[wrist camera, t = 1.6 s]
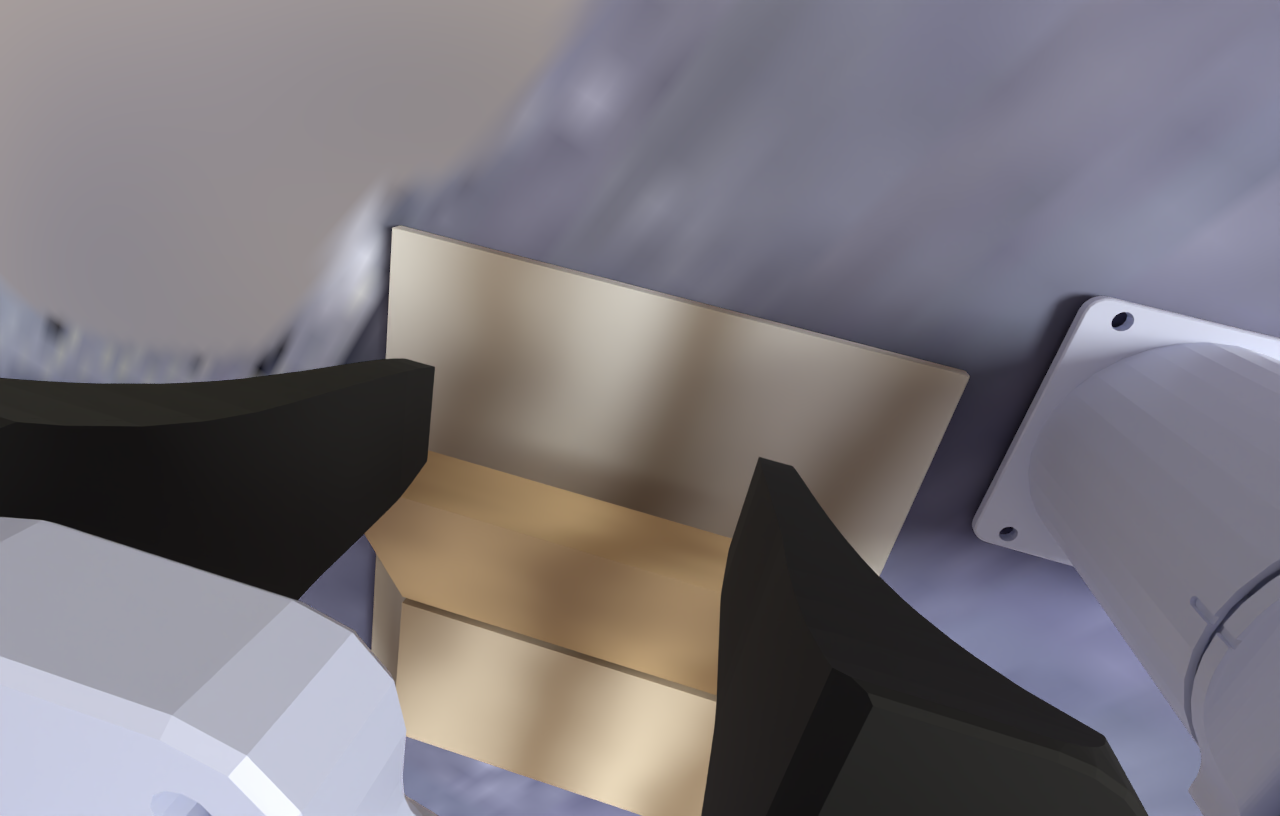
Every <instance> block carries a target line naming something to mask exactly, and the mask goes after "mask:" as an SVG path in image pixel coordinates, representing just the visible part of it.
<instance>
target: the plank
mask: <svg viewBox="0 0 1280 816" xmlns="http://www.w3.org/2000/svg"><path fill="white" fill-rule="evenodd" d="M364 534H365V536H366V537H367V539H368V541H369V542H370V544H371V546H372V547H373V549H374V551H375V552H376V554H377V556H378V557H379V559H380V560H381V562H382V564H383V565H384V567H385V569H386V570H387V572H388V574H389V575H390V577H391V579H392V580H393V582H394V584H395V585H396V587H397V588H398V590H399V592H400V593H401V595H402V597H405V598H408V599H411V600H415V601H418V602H421V603H424V604H427V605H430V606H434V607H437V608H440V609H443V610H446V611H450V612H453V613H456V614H459V615H462V616H465V617H469V618H472V619H475V620H478V621H481V622H485V623H488V624H491V625H494V626H497V627H500V628H504V629H507V630H510V631H513V632H516V633H520V634H523V635H526V636H529V637H532V638H535V639H539V640H542V641H545V642H548V643H551V644H555V645H558V646H561V647H564V648H567V649H570V650H574V651H577V652H580V653H583V654H586V655H590V656H593V657H596V658H599V659H602V660H605V661H609V662H612V663H615V664H618V665H621V666H625V667H628V668H631V669H634V670H637V671H640V672H644V673H647V674H650V675H653V676H656V677H660V678H663V679H666V680H669V681H672V682H676V683H679V684H682V685H685V686H688V687H691V688H695V689H698V690H701V691H704V692H707V693H711V694H714V695H717V674H718V647H719V622H720V600H721V590H722V585H723V579H724V573H725V567H726V562H727V556H728V551H729V547H730V544H731V541H732V538H729V537H725V536H722V535H718V534H715V533H711V532H708V531H704V530H701V529H698V528H694V527H691V526H687V525H684V524H680V523H677V522H673V521H670V520H667V519H663V518H660V517H656V516H653V515H649V514H646V513H643V512H639V511H636V510H632V509H629V508H625V507H622V506H618V505H615V504H612V503H608V502H605V501H601V500H598V499H594V498H591V497H587V496H584V495H581V494H577V493H574V492H570V491H567V490H563V489H560V488H556V487H553V486H550V485H546V484H543V483H539V482H536V481H532V480H529V479H525V478H522V477H519V476H515V475H512V474H508V473H505V472H501V471H498V470H495V469H491V468H488V467H484V466H481V465H477V464H474V463H470V462H467V461H464V460H460V459H457V458H453V457H450V456H446V455H443V454H439V453H436V452H433V451H429V450H428V458H427V462H426V464H425V465H424V466H423V468H422V469H421V471H420V472H419V473H418V475H417V476H416V478H415V479H414V480H413V482H412V483H411V484H410V486H409V487H408V488H407V490H406V491H405V492H404V493H403V495H402V496H401V497H400V499H399V500H398V501H397V502H396V503H395V504H394V505H393V506H392V507H391V508H390V509H389V510H388V511H387V512H386V513H385V514H384V515H383V516H382V517H381V518H380V519H379V520H378V521H377V522H376V523H375V524H374V525H373V526H372V527H371V528H370V529H369V530H367V531H366V532H365V533H364Z"/></svg>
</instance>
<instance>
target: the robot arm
mask: <svg viewBox="0 0 1280 816" xmlns="http://www.w3.org/2000/svg"><path fill="white" fill-rule="evenodd" d="M1121 312H1126V314H1127V318H1126V321H1125V322H1124V323H1123V324H1122V325H1121V326H1118V327H1112V325H1111V323H1112V319H1113V318H1114V317H1115V316H1116V315H1117V314H1119V313H1121ZM434 374H435V367H434V366H430V365H427V364H423V363H420V362H416V361H412V360H409V359H405V358H393V359H381V360H372V361H365V362H358V363H351V364H345V365H338V366H332V367H326V368H319V369H313V370H306V371H300V372H292V373H284V374H276V375H268V376H261V377H253V378H245V379H235V380H223V381H210V382H191V383H170V384H93V383H69V382H48V381H34V380H20V379H7V378H0V816H438V815H437V814H435V813H434V812H432V811H430V810H429V809H427V808H425V807H424V806H422V805H420V804H419V803H417V802H416V801H414V800H412V799H410V798H408V797H406V795H405V793H404V788H403V777H402V776H403V764H404V752H405V741H406V727H405V723H404V719H403V715H402V711H401V707H400V703H399V699H398V694H397V690H396V686H395V682H394V680H393V677H392V675H391V673H390V672H389V671H388V670H387V668H386V667H385V666H384V665H383V664H382V663H381V661H380V660H379V659H378V658H377V657H376V656H375V654H374V653H373V652H372V651H371V650H370V648H369V647H368V646H367V645H366V644H365V643H364V641H363V640H362V639H361V638H360V637H359V636H358V634H357V633H356V632H355V631H354V630H353V629H351V628H349V627H347V626H345V625H343V624H342V623H340V622H338V621H336V620H334V619H332V618H330V617H329V616H327V615H325V614H323V613H321V612H319V611H318V610H316V609H314V608H312V607H310V606H308V605H307V604H305V603H303V602H301V601H298V599H299V598H300V597H301V596H302V595H303V594H304V593H305V592H306V591H307V590H308V589H309V587H310V586H311V585H312V584H313V583H314V582H315V581H316V580H317V579H318V578H319V577H320V576H321V575H322V574H323V573H324V572H325V571H326V570H327V569H328V568H329V567H330V566H331V565H332V564H333V563H334V562H335V561H336V560H338V559H339V558H340V557H341V556H342V555H343V554H344V553H345V552H346V551H347V550H348V549H349V548H350V547H351V546H352V545H353V544H354V543H355V542H356V541H357V540H358V539H359V538H360V537H361V536H362V535H363V534H364V533H365V532H366V531H367V530H369V529H370V528H371V527H372V526H373V525H374V524H375V523H376V522H377V521H378V520H379V519H380V518H381V517H382V516H383V515H384V514H385V513H386V512H387V511H388V510H389V509H390V508H391V507H392V506H393V505H394V504H395V503H396V502H397V501H398V500H399V499H400V497H401V496H402V495H403V493H404V492H405V491H406V490H407V488H408V487H409V486H410V484H411V483H412V482H413V480H414V479H415V478H416V476H417V475H418V473H419V472H420V471H421V469H422V468H423V466H424V465H425V464H426V462H427V458H428V446H429V434H430V422H431V410H432V398H433V386H434ZM1006 527H1013V530H1012V531H1011V532H1010V533H1008V534H1000V531H1001V530H1002V529H1003V528H1006ZM972 528H973V531H974V533H975V535H976V536H977V537H978V538H979V539H980V540H983V541H985V542H988V543H991V544H995V545H999V546H1002V547H1006V548H1009V549H1013V550H1016V551H1020V552H1024V553H1027V554H1031V555H1034V556H1038V557H1041V558H1045V559H1048V560H1052V561H1056V562H1059V563H1063V564H1066V565H1070V566H1073V567H1075V569H1076V570H1077V572H1078V573H1079V575H1080V576H1081V578H1082V579H1083V580H1084V582H1085V583H1086V585H1087V586H1088V588H1089V589H1090V591H1091V592H1092V593H1093V595H1094V596H1095V598H1096V599H1097V601H1098V602H1099V604H1100V605H1101V606H1102V608H1103V609H1104V611H1105V612H1106V614H1107V615H1108V617H1109V618H1110V619H1111V621H1112V622H1113V624H1114V625H1115V627H1116V628H1117V630H1118V631H1119V632H1120V634H1121V635H1122V637H1123V638H1124V640H1125V641H1126V643H1127V644H1128V645H1129V647H1130V648H1131V650H1132V651H1133V653H1134V654H1135V655H1136V657H1137V658H1138V660H1139V661H1140V663H1141V664H1142V666H1143V667H1144V668H1145V670H1146V671H1147V673H1148V674H1149V676H1150V677H1151V679H1152V680H1153V681H1154V683H1155V684H1156V686H1157V687H1158V689H1159V690H1160V692H1161V693H1162V694H1163V696H1164V697H1165V699H1166V700H1167V702H1168V703H1169V705H1170V706H1171V707H1172V709H1173V710H1174V712H1175V713H1176V715H1177V716H1178V718H1179V719H1180V720H1181V722H1182V723H1183V725H1184V726H1185V728H1186V729H1187V731H1188V732H1189V733H1190V735H1191V736H1192V738H1193V739H1194V741H1195V742H1196V744H1197V745H1198V746H1199V748H1200V752H1201V766H1200V769H1199V773H1198V775H1197V777H1196V779H1195V780H1194V782H1193V783H1192V785H1191V786H1190V788H1189V793H1190V795H1191V796H1192V798H1193V800H1194V801H1195V803H1196V804H1197V806H1198V807H1199V809H1200V811H1201V812H1202V814H1203V815H1204V816H1280V338H1277V337H1273V336H1269V335H1265V334H1261V333H1257V332H1253V331H1248V330H1244V329H1240V328H1236V327H1232V326H1228V325H1224V324H1220V323H1215V322H1211V321H1207V320H1203V319H1199V318H1195V317H1191V316H1186V315H1182V314H1178V313H1174V312H1170V311H1166V310H1162V309H1158V308H1153V307H1149V306H1145V305H1141V304H1137V303H1133V302H1129V301H1124V300H1120V299H1116V298H1112V297H1108V296H1097V297H1093V298H1090V299H1089V300H1087V301H1086V302H1084V303H1083V305H1082V306H1081V307H1080V309H1079V310H1078V312H1077V314H1076V316H1075V318H1074V320H1073V322H1072V324H1071V326H1070V328H1069V330H1068V332H1067V334H1066V336H1065V338H1064V340H1063V342H1062V344H1061V346H1060V348H1059V350H1058V352H1057V354H1056V356H1055V358H1054V360H1053V362H1052V364H1051V366H1050V368H1049V370H1048V372H1047V374H1046V376H1045V378H1044V380H1043V382H1042V384H1041V386H1040V388H1039V390H1038V391H1037V393H1036V395H1035V397H1034V399H1033V401H1032V403H1031V405H1030V407H1029V409H1028V411H1027V413H1026V415H1025V417H1024V419H1023V421H1022V423H1021V425H1020V427H1019V429H1018V431H1017V433H1016V435H1015V437H1014V439H1013V441H1012V443H1011V445H1010V447H1009V449H1008V451H1007V453H1006V455H1005V457H1004V459H1003V461H1002V463H1001V465H1000V467H999V469H998V471H997V473H996V475H995V477H994V479H993V481H992V483H991V485H990V487H989V488H988V490H987V492H986V494H985V496H984V498H983V500H982V502H981V504H980V506H979V508H978V510H977V512H976V514H975V516H974V518H973V521H972ZM701 816H1148V814H1147V812H1146V811H1145V809H1144V807H1143V805H1142V803H1141V801H1140V800H1139V798H1138V796H1137V794H1136V792H1135V790H1134V789H1133V787H1132V785H1131V783H1130V781H1129V779H1128V778H1127V776H1126V774H1125V772H1124V770H1123V769H1122V767H1121V765H1120V763H1119V761H1118V759H1117V758H1116V756H1115V754H1114V752H1113V750H1112V749H1111V747H1110V745H1109V743H1108V742H1107V740H1106V738H1105V737H1104V735H1102V734H1100V733H1098V732H1097V731H1095V730H1093V729H1092V728H1090V727H1088V726H1086V725H1085V724H1083V723H1081V722H1079V721H1078V720H1076V719H1074V718H1073V717H1071V716H1069V715H1067V714H1066V713H1064V712H1062V711H1060V710H1059V709H1057V708H1055V707H1054V706H1052V705H1050V704H1048V703H1047V702H1045V701H1043V700H1041V699H1040V698H1038V697H1036V696H1035V695H1033V694H1031V693H1029V692H1028V691H1026V690H1024V689H1023V688H1021V687H1020V686H1018V685H1016V684H1015V683H1013V682H1012V681H1010V680H1009V679H1007V678H1006V677H1004V676H1003V675H1001V674H1000V673H998V672H997V671H996V670H994V669H993V668H991V667H990V666H988V665H987V664H985V663H984V662H982V661H981V660H979V659H978V658H976V657H975V656H973V655H972V654H971V653H969V652H968V651H967V650H965V649H964V648H962V647H961V646H960V645H958V644H957V643H956V642H954V641H953V640H952V639H950V638H949V637H948V636H946V635H945V634H944V633H943V632H941V631H940V630H939V629H938V628H937V627H935V626H934V625H933V624H932V623H930V622H929V621H928V620H927V619H925V618H924V617H923V616H922V615H920V614H919V613H918V612H917V611H916V610H915V609H913V608H912V607H911V606H910V605H909V604H908V603H907V602H905V601H904V600H903V599H902V598H901V597H900V596H899V595H898V594H897V593H896V592H895V591H894V590H893V589H892V588H891V587H890V586H889V585H888V584H886V583H885V582H884V581H883V580H882V579H881V578H880V577H879V576H878V575H877V574H876V573H875V572H874V571H873V570H872V569H871V567H870V566H869V565H868V564H867V563H866V562H865V561H864V560H863V559H862V558H861V556H860V555H859V554H858V553H857V552H856V551H855V549H854V548H853V547H852V546H851V545H850V544H849V542H848V541H847V540H846V539H845V538H844V536H843V535H842V534H841V533H840V531H839V530H838V529H837V527H836V526H835V525H834V524H833V522H832V521H831V520H830V518H829V517H828V515H827V514H826V513H825V511H824V510H823V509H822V507H821V506H820V504H819V503H818V501H817V500H816V499H815V497H814V496H813V494H812V493H811V491H810V490H809V488H808V487H807V485H806V484H805V482H804V481H803V479H802V478H801V476H800V475H799V474H798V472H797V471H796V469H795V468H794V467H793V466H791V465H787V464H784V463H780V462H776V461H773V460H769V459H766V458H762V457H759V458H758V461H757V464H756V467H755V470H754V473H753V476H752V479H751V483H750V486H749V489H748V492H747V495H746V498H745V501H744V504H743V507H742V510H741V513H740V516H739V519H738V522H737V526H736V529H735V532H734V535H733V538H732V541H731V544H730V547H729V551H728V556H727V562H726V567H725V573H724V579H723V585H722V590H721V600H720V622H719V647H718V674H717V700H716V713H715V725H714V733H713V740H712V747H711V754H710V761H709V767H708V774H707V781H706V788H705V794H704V800H703V807H702V813H701Z"/></svg>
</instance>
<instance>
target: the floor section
mask: <svg viewBox="0 0 1280 816" xmlns="http://www.w3.org/2000/svg"><path fill="white" fill-rule="evenodd" d="M393 358H405V359H409V360H412V361H416V362H420V363H423V364H427V365H430V366H434V367H435V374H434V386H433V398H432V410H431V422H430V434H429V446H428V450H429V451H433V452H436V453H439V454H443V455H446V456H450V457H453V458H457V459H460V460H464V461H467V462H470V463H474V464H477V465H481V466H484V467H488V468H491V469H495V470H498V471H501V472H505V473H508V474H512V475H515V476H519V477H522V478H525V479H529V480H532V481H536V482H539V483H543V484H546V485H550V486H553V487H556V488H560V489H563V490H567V491H570V492H574V493H577V494H581V495H584V496H587V497H591V498H594V499H598V500H601V501H605V502H608V503H612V504H615V505H618V506H622V507H625V508H629V509H632V510H636V511H639V512H643V513H646V514H649V515H653V516H656V517H660V518H663V519H667V520H670V521H673V522H677V523H680V524H684V525H687V526H691V527H694V528H698V529H701V530H704V531H708V532H711V533H715V534H718V535H722V536H725V537H729V538H733V535H734V532H735V529H736V526H737V522H738V519H739V516H740V513H741V510H742V507H743V504H744V501H745V498H746V495H747V492H748V489H749V486H750V483H751V479H752V476H753V473H754V470H755V467H756V464H757V461H758V458H759V457H762V458H766V459H769V460H773V461H776V462H780V463H784V464H787V465H791V466H793V467H794V468H795V469H796V471H797V472H798V474H799V475H800V476H801V478H802V479H803V481H804V482H805V484H806V485H807V487H808V488H809V490H810V491H811V493H812V494H813V496H814V497H815V499H816V500H817V501H818V503H819V504H820V506H821V507H822V509H823V510H824V511H825V513H826V514H827V515H828V517H829V518H830V520H831V521H832V522H833V524H834V525H835V526H836V527H837V529H838V530H839V531H840V533H841V534H842V535H843V536H844V538H845V539H846V540H847V541H848V542H849V544H850V545H851V546H852V547H853V548H854V549H855V551H856V552H857V553H858V554H859V555H860V556H861V558H862V559H863V560H864V561H865V562H866V563H867V564H868V565H869V566H870V567H871V569H872V570H873V571H874V572H875V573H876V574H877V575H878V576H880V574H881V572H882V570H883V567H884V565H885V563H886V561H887V559H888V556H889V554H890V552H891V550H892V547H893V545H894V543H895V541H896V539H897V536H898V534H899V532H900V530H901V528H902V525H903V523H904V521H905V519H906V517H907V514H908V512H909V510H910V508H911V506H912V503H913V501H914V499H915V497H916V495H917V492H918V490H919V488H920V486H921V484H922V481H923V479H924V477H925V475H926V472H927V470H928V468H929V466H930V464H931V461H932V459H933V457H934V455H935V453H936V450H937V448H938V446H939V444H940V442H941V439H942V437H943V435H944V433H945V431H946V428H947V426H948V424H949V422H950V420H951V417H952V415H953V413H954V411H955V409H956V406H957V404H958V402H959V400H960V397H961V395H962V393H963V391H964V389H965V386H966V384H967V382H968V380H969V378H970V376H969V375H968V373H967V372H966V371H964V370H960V369H956V368H952V367H949V366H945V365H941V364H937V363H933V362H929V361H925V360H921V359H917V358H914V357H910V356H906V355H902V354H898V353H894V352H890V351H886V350H882V349H879V348H875V347H871V346H867V345H863V344H859V343H855V342H851V341H848V340H844V339H840V338H836V337H832V336H828V335H824V334H820V333H816V332H813V331H809V330H805V329H801V328H797V327H793V326H789V325H785V324H781V323H778V322H774V321H770V320H766V319H762V318H758V317H754V316H750V315H746V314H743V313H739V312H735V311H731V310H727V309H723V308H719V307H715V306H711V305H708V304H704V303H700V302H696V301H692V300H688V299H684V298H680V297H676V296H673V295H669V294H665V293H661V292H657V291H653V290H649V289H645V288H641V287H638V286H634V285H630V284H626V283H622V282H618V281H614V280H610V279H607V278H603V277H599V276H595V275H591V274H587V273H583V272H579V271H575V270H572V269H568V268H564V267H560V266H556V265H552V264H548V263H544V262H540V261H537V260H533V259H529V258H525V257H521V256H517V255H513V254H509V253H505V252H502V251H498V250H494V249H490V248H486V247H482V246H478V245H474V244H470V243H467V242H463V241H459V240H455V239H451V238H447V237H443V236H439V235H435V234H432V233H428V232H424V231H420V230H416V229H412V228H408V227H404V226H397V227H392V245H391V265H390V286H389V306H388V326H387V346H386V359H393ZM371 651H372V652H373V653H374V654H375V656H376V657H377V658H378V659H379V660H380V661H381V663H382V664H383V665H384V666H385V667H386V668H387V670H388V671H389V672H390V673H391V675H392V677H393V680H394V682H395V686H396V690H397V694H398V699H399V703H400V707H401V711H402V715H403V719H404V723H405V727H406V736H407V737H410V738H413V739H416V740H419V741H422V742H425V743H428V744H431V745H434V746H437V747H440V748H443V749H446V750H449V751H452V752H455V753H458V754H461V755H464V756H467V757H470V758H473V759H476V760H478V761H481V762H484V763H487V764H490V765H493V766H496V767H499V768H502V769H505V770H508V771H511V772H514V773H517V774H520V775H523V776H526V777H529V778H532V779H535V780H538V781H541V782H544V783H547V784H550V785H553V786H556V787H559V788H562V789H565V790H568V791H571V792H574V793H577V794H580V795H583V796H586V797H589V798H592V799H595V800H598V801H601V802H604V803H607V804H610V805H613V806H616V807H619V808H622V809H625V810H628V811H631V812H634V813H637V814H639V815H642V816H701V813H702V807H703V800H704V794H705V788H706V781H707V774H708V767H709V761H710V754H711V747H712V740H713V733H714V725H715V713H716V700H717V695H714V694H711V693H707V692H704V691H701V690H698V689H695V688H691V687H688V686H685V685H682V684H679V683H676V682H672V681H669V680H666V679H663V678H660V677H656V676H653V675H650V674H647V673H644V672H640V671H637V670H634V669H631V668H628V667H625V666H621V665H618V664H615V663H612V662H609V661H605V660H602V659H599V658H596V657H593V656H590V655H586V654H583V653H580V652H577V651H574V650H570V649H567V648H564V647H561V646H558V645H555V644H551V643H548V642H545V641H542V640H539V639H535V638H532V637H529V636H526V635H523V634H520V633H516V632H513V631H510V630H507V629H504V628H500V627H497V626H494V625H491V624H488V623H485V622H481V621H478V620H475V619H472V618H469V617H465V616H462V615H459V614H456V613H453V612H450V611H446V610H443V609H440V608H437V607H434V606H430V605H427V604H424V603H421V602H418V601H415V600H411V599H408V598H405V597H402V595H401V593H400V592H399V590H398V588H397V587H396V585H395V584H394V582H393V580H392V579H391V577H390V575H389V574H388V572H387V570H386V569H385V567H384V565H383V564H382V562H381V560H380V559H379V557H378V556H377V554H376V568H375V588H374V609H373V629H372V649H371Z"/></svg>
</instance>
